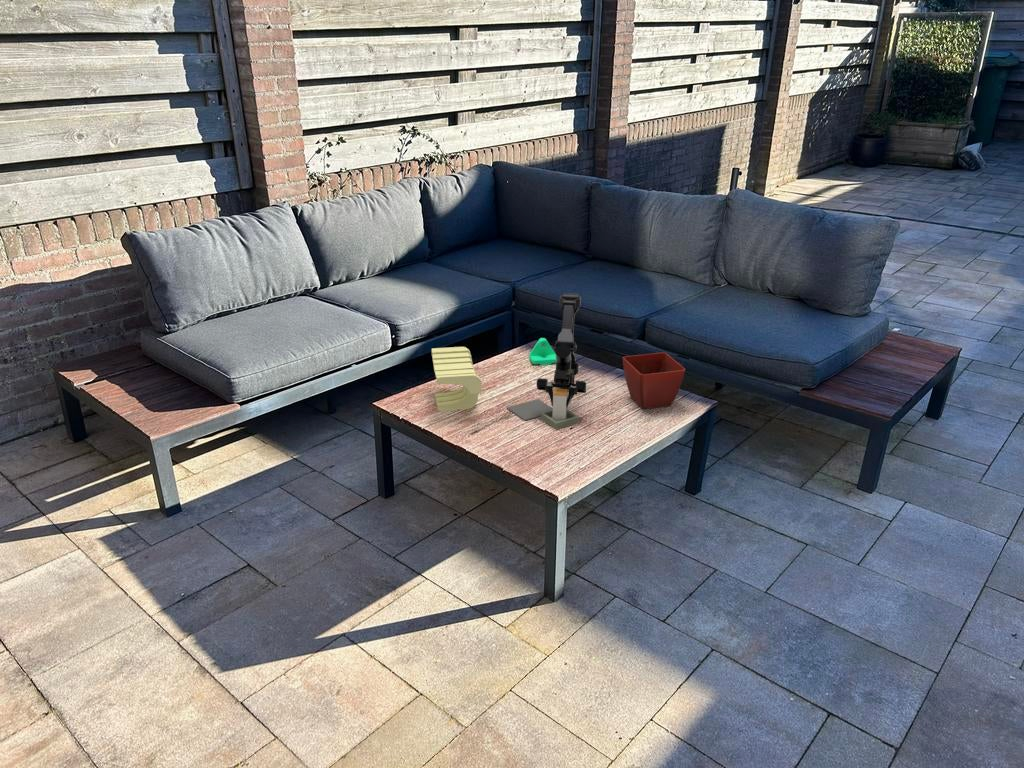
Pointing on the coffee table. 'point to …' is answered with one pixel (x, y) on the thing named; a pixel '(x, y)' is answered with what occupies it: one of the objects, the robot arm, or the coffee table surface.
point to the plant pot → (653, 379)
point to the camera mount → (542, 353)
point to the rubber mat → (529, 409)
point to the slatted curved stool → (456, 378)
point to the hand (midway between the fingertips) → (559, 406)
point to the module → (559, 404)
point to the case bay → (563, 423)
